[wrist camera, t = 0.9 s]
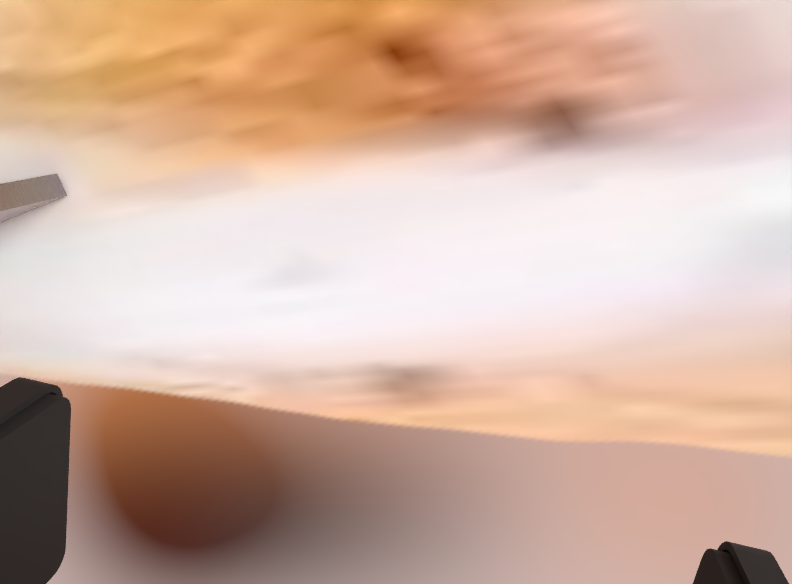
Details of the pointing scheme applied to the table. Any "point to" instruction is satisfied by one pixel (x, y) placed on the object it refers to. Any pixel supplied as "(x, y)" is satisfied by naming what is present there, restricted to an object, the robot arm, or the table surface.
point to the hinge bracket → (28, 195)
